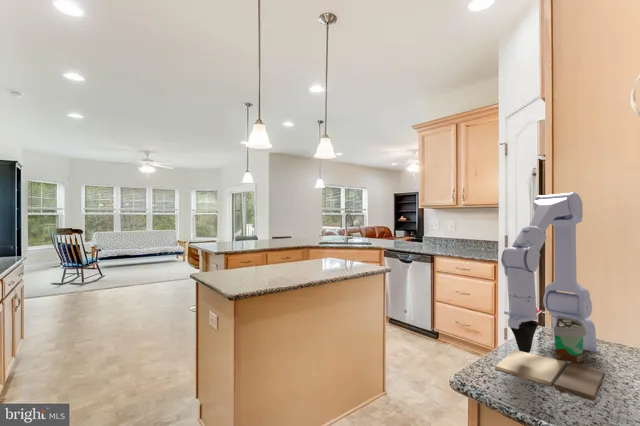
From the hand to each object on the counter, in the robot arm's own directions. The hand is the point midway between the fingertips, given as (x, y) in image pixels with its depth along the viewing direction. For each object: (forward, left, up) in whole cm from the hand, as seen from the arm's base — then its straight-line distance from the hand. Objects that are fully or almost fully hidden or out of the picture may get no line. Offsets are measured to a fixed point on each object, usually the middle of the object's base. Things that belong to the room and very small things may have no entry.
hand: (524, 351), depth 76 cm
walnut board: (-6, +9, -4) cm, 11 cm away
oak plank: (-1, +1, -4) cm, 4 cm away
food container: (-14, -1, -5) cm, 15 cm away
